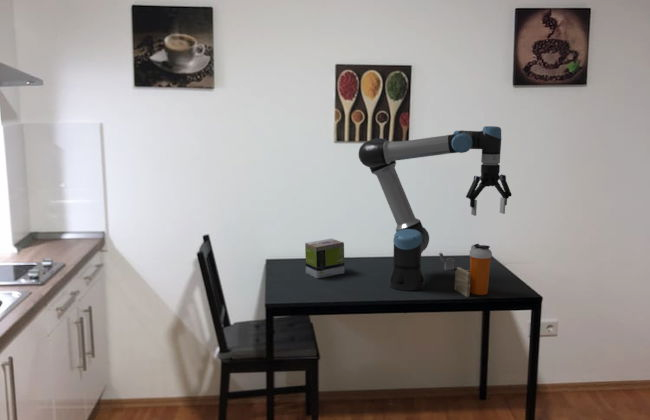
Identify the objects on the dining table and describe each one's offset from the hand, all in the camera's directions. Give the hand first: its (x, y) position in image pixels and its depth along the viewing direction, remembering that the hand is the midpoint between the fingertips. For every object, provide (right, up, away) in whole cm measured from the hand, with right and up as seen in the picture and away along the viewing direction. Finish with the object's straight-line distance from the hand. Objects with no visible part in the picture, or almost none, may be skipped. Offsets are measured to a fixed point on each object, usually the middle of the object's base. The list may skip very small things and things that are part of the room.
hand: (488, 214), depth 271 cm
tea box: (-69, -27, +21) cm, 77 cm away
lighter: (-12, -26, +28) cm, 40 cm away
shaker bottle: (-5, -33, -5) cm, 33 cm away
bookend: (-6, -32, -4) cm, 33 cm away
